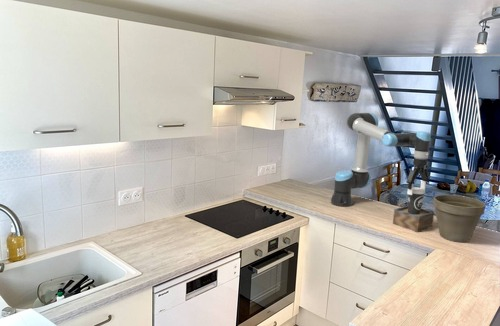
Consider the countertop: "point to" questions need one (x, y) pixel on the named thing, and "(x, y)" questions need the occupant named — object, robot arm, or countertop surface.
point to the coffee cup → (415, 200)
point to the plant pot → (457, 216)
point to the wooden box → (413, 219)
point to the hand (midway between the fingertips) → (416, 193)
